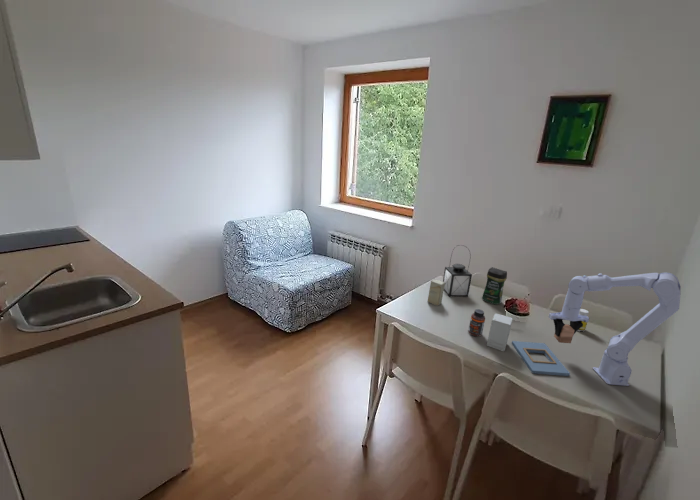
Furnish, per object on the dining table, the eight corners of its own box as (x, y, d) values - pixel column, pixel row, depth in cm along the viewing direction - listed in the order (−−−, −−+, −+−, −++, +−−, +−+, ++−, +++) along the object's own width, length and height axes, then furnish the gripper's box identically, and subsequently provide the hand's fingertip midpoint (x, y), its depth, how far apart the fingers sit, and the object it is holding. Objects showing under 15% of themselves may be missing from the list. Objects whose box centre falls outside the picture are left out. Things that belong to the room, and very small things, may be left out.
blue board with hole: (569, 376, 134) (570, 372, 134) (531, 373, 134) (532, 369, 134) (544, 345, 153) (545, 342, 153) (511, 343, 153) (512, 340, 153)
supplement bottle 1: (466, 334, 158) (471, 311, 155) (469, 328, 163) (473, 306, 160) (480, 338, 156) (485, 315, 152) (482, 332, 161) (487, 310, 157)
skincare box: (427, 302, 187) (430, 280, 183) (431, 299, 190) (434, 278, 186) (437, 306, 183) (441, 284, 179) (442, 303, 186) (445, 282, 182)
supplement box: (504, 351, 147) (510, 325, 143) (486, 345, 150) (491, 319, 146) (507, 343, 153) (513, 317, 149) (489, 338, 156) (494, 312, 152)
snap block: (570, 343, 142) (574, 330, 140) (559, 342, 142) (563, 329, 140) (564, 337, 146) (568, 324, 144) (553, 336, 146) (557, 323, 144)
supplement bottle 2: (586, 332, 166) (592, 314, 163) (574, 331, 167) (579, 312, 163) (582, 326, 171) (587, 308, 168) (569, 325, 172) (575, 307, 168)
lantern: (468, 296, 196) (477, 248, 187) (448, 296, 194) (457, 248, 185) (459, 288, 206) (467, 242, 197) (441, 288, 205) (448, 241, 196)
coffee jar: (479, 300, 192) (486, 268, 186) (485, 295, 198) (491, 264, 192) (497, 306, 186) (504, 273, 180) (503, 301, 192) (510, 270, 186)
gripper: (585, 302, 143) (576, 331, 147) (548, 299, 143) (540, 329, 148) (595, 310, 136) (585, 341, 140) (557, 307, 137) (548, 338, 141)
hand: (563, 335), depth 144 cm, fingers closed on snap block, 4 cm apart
